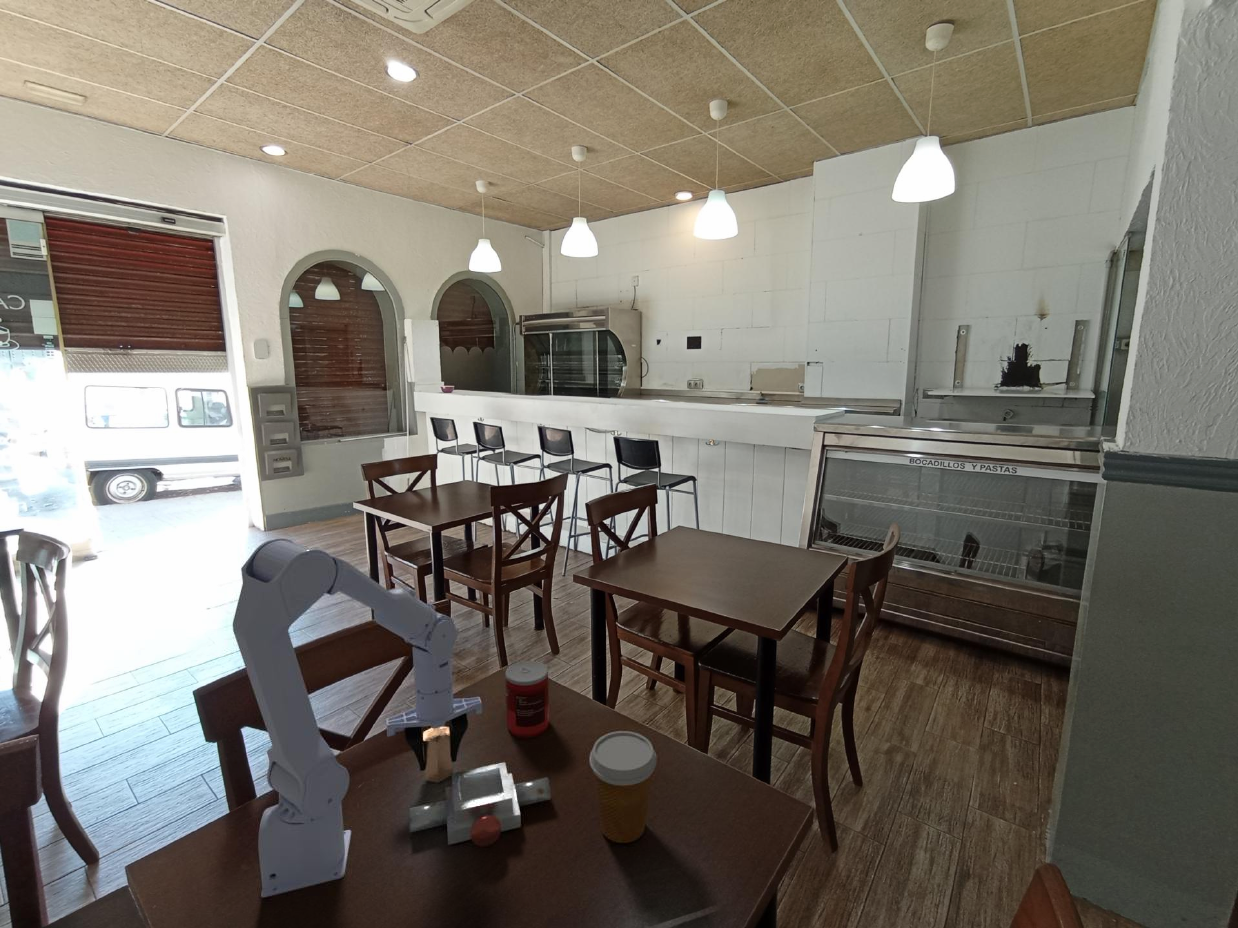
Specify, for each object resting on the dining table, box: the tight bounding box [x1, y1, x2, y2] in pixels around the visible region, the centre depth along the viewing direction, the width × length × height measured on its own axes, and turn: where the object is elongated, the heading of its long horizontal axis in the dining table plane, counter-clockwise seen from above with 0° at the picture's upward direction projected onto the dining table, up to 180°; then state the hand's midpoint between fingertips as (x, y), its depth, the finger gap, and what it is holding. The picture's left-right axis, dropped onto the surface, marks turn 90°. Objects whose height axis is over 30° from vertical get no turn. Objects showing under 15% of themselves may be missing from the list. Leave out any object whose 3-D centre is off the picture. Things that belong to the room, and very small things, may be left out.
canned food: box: [505, 660, 550, 739], centre depth 104 cm, size 8×8×11 cm
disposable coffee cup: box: [588, 730, 658, 844], centre depth 80 cm, size 10×10×12 cm
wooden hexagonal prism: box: [422, 726, 452, 783], centre depth 91 cm, size 4×5×7 cm
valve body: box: [408, 762, 552, 847], centre depth 82 cm, size 20×11×4 cm, turn 109°
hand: (437, 762), depth 92 cm, fingers closed on wooden hexagonal prism, 4 cm apart
